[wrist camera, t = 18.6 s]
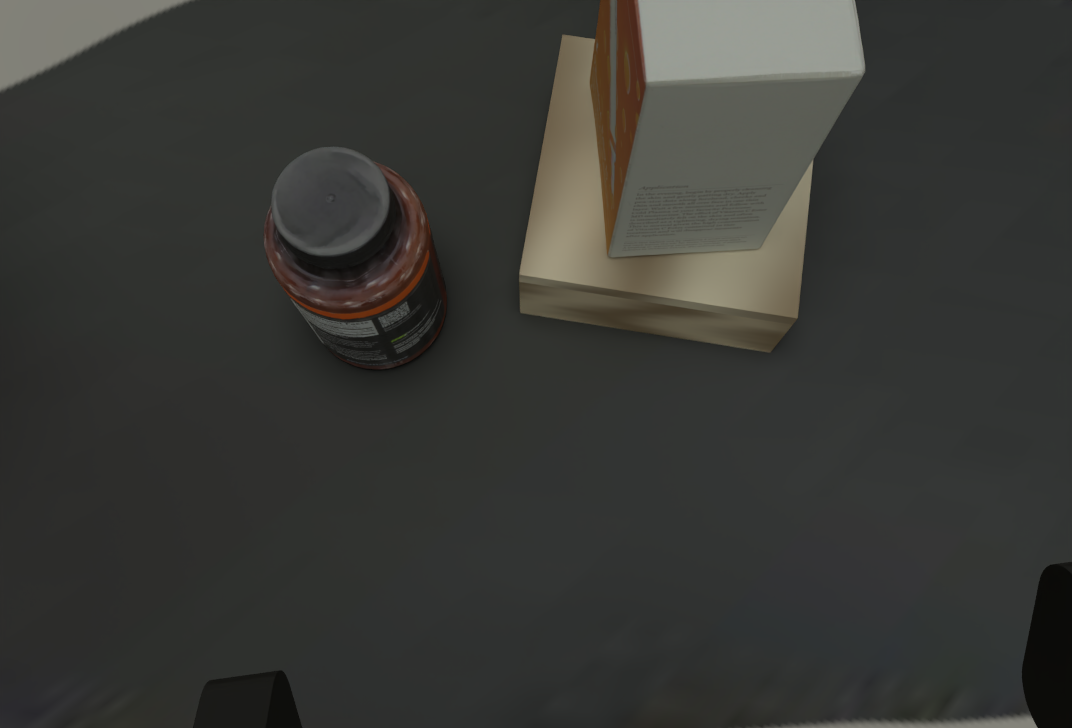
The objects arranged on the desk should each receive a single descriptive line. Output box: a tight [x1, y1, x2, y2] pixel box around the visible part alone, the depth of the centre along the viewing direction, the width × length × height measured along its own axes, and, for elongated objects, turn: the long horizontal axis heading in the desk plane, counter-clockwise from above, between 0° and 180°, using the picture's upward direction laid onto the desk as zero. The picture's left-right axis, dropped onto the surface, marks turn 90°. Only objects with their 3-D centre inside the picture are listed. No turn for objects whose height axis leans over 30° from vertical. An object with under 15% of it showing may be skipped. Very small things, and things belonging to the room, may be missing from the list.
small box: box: [590, 0, 865, 258], centre depth 35 cm, size 8×6×13 cm
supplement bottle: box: [264, 147, 447, 369], centre depth 39 cm, size 6×6×11 cm
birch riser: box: [519, 35, 813, 352], centre depth 43 cm, size 11×11×5 cm
